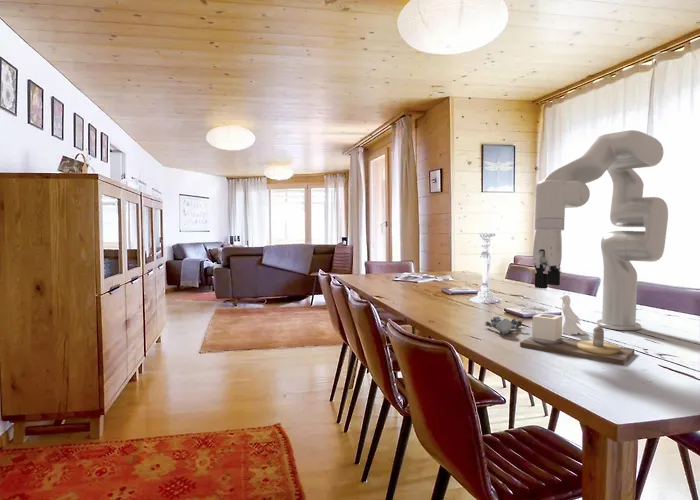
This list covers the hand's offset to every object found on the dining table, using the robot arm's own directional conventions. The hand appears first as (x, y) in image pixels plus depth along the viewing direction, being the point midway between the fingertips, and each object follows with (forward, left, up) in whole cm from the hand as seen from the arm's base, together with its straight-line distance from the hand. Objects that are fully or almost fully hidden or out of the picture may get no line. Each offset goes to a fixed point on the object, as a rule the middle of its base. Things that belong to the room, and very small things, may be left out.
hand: (547, 286), depth 126 cm
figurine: (-19, +2, -17) cm, 26 cm away
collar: (0, 0, -14) cm, 14 cm away
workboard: (0, +8, -17) cm, 18 cm away
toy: (-8, -16, -17) cm, 25 cm away
